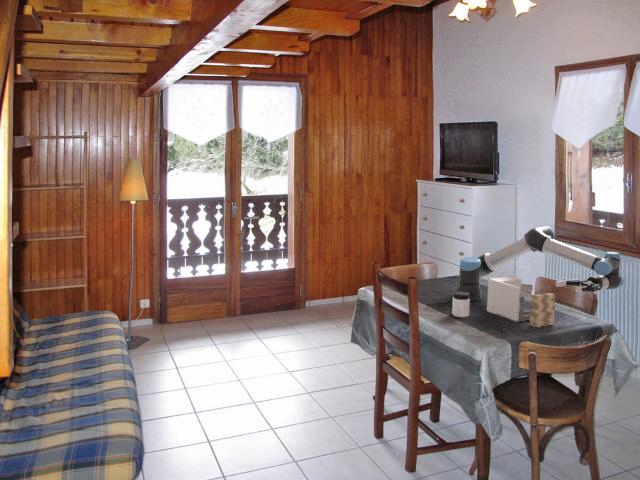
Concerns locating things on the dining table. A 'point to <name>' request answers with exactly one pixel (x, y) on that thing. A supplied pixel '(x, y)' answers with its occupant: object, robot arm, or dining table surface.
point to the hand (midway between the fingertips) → (566, 287)
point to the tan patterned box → (542, 309)
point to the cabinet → (506, 298)
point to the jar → (460, 304)
